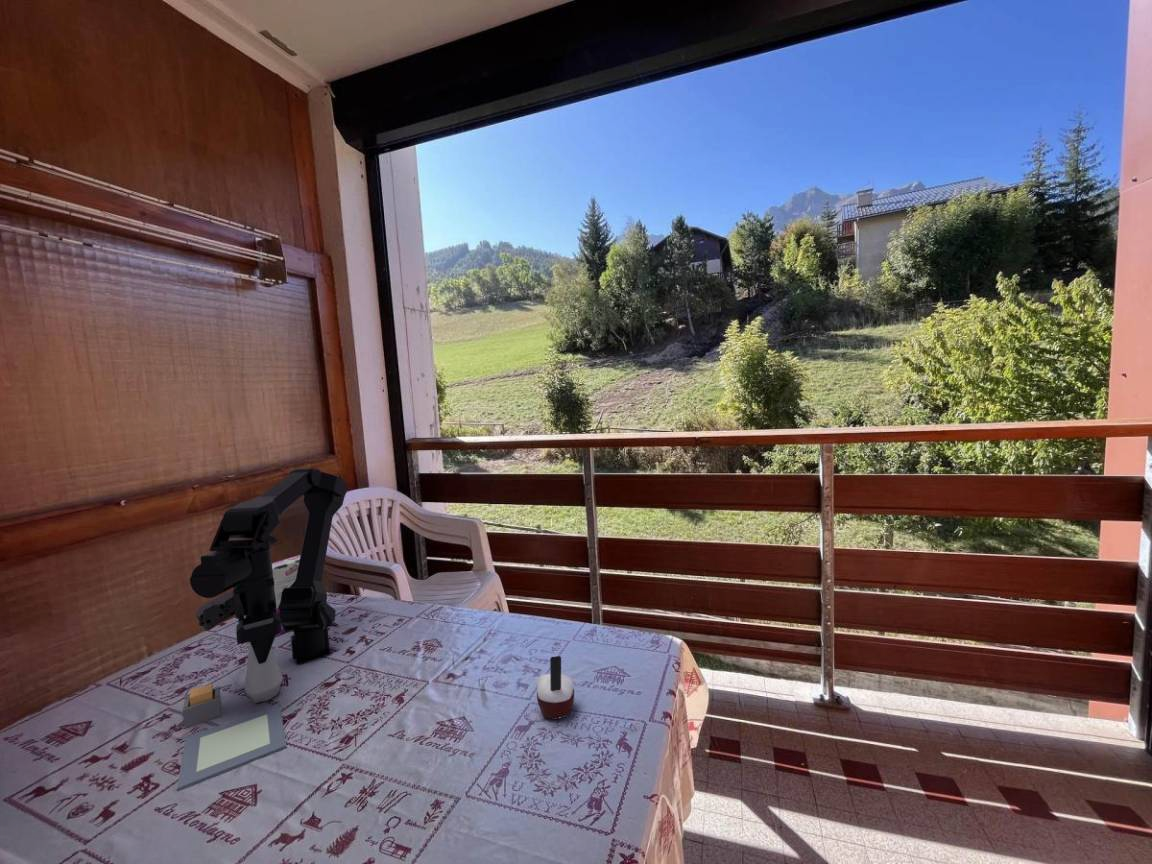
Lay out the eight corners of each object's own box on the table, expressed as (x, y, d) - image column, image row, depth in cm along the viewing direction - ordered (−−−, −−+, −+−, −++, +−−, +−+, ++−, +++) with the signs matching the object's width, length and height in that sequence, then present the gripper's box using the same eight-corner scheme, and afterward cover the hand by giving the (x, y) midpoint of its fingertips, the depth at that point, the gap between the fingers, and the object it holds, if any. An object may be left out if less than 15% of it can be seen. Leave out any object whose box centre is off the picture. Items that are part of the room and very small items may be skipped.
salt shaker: (291, 688, 89) (284, 621, 88) (261, 707, 83) (255, 636, 82) (268, 684, 90) (262, 618, 90) (238, 702, 85) (231, 632, 84)
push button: (213, 697, 84) (212, 683, 84) (213, 706, 82) (211, 691, 82) (192, 704, 83) (190, 690, 83) (190, 713, 80) (189, 698, 80)
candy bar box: (311, 614, 122) (305, 552, 121) (321, 618, 119) (316, 555, 118) (263, 633, 113) (257, 566, 112) (273, 638, 110) (267, 569, 109)
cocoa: (546, 697, 83) (541, 630, 83) (581, 699, 82) (576, 631, 82) (529, 732, 74) (523, 656, 74) (567, 735, 73) (561, 657, 73)
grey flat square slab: (280, 706, 84) (279, 703, 84) (286, 747, 73) (285, 744, 73) (185, 739, 76) (185, 736, 76) (177, 791, 66) (177, 787, 66)
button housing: (221, 703, 86) (219, 686, 86) (220, 716, 82) (218, 698, 82) (187, 714, 83) (185, 696, 83) (184, 728, 79) (182, 710, 79)
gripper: (200, 572, 88) (208, 653, 89) (192, 604, 73) (202, 701, 74) (271, 558, 95) (278, 634, 96) (277, 585, 80) (285, 674, 81)
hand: (261, 658), depth 86 cm, fingers closed on salt shaker, 3 cm apart
